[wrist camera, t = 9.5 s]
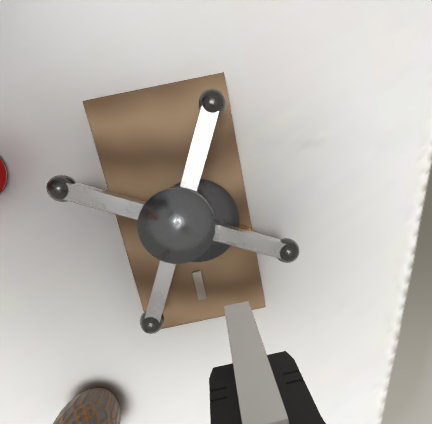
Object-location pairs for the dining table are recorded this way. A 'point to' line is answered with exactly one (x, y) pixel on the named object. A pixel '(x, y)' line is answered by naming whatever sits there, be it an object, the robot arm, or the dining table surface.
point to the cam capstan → (181, 215)
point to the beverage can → (2, 175)
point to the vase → (91, 408)
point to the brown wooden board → (169, 176)
